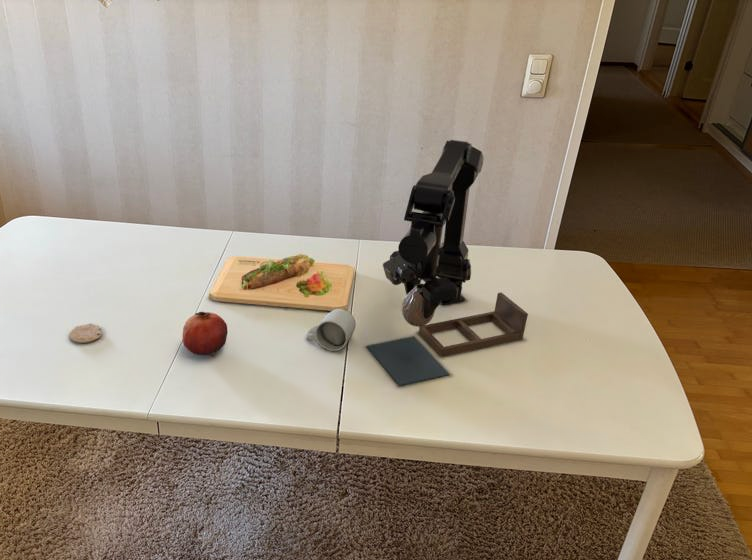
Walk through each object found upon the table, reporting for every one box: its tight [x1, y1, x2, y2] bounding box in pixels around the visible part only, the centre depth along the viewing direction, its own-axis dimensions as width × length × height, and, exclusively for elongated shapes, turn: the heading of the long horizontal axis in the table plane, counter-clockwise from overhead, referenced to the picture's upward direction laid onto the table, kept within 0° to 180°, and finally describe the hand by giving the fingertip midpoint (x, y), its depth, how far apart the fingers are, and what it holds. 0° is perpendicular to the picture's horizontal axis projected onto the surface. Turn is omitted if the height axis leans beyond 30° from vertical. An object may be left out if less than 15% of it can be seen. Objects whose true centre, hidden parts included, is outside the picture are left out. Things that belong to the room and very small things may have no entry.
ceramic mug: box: [306, 309, 357, 352], centre depth 166 cm, size 11×8×8 cm
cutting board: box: [208, 253, 355, 312], centre depth 188 cm, size 35×23×8 cm
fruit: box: [181, 311, 229, 356], centre depth 163 cm, size 11×10×10 cm
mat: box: [366, 336, 450, 387], centre depth 161 cm, size 16×12×1 cm
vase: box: [401, 283, 436, 328], centre depth 154 cm, size 7×7×9 cm
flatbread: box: [68, 322, 103, 343], centre depth 171 cm, size 8×8×1 cm
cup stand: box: [418, 291, 529, 358], centre depth 167 cm, size 11×21×7 cm, turn 109°
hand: (418, 309), depth 155 cm, fingers closed on vase, 7 cm apart
